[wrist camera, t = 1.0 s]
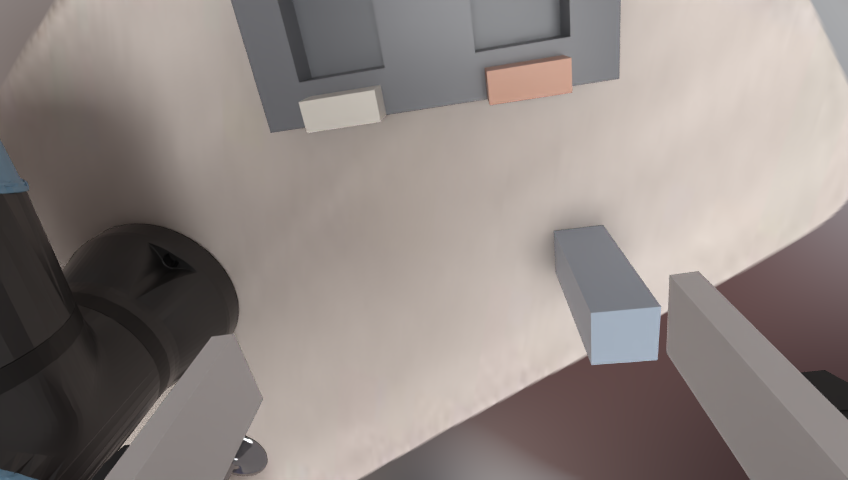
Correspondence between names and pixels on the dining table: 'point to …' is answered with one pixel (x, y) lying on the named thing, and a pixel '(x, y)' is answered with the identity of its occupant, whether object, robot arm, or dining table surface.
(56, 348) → the robot arm
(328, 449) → the dining table surface
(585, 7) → the socket block
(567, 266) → the plug
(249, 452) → the wine glass
